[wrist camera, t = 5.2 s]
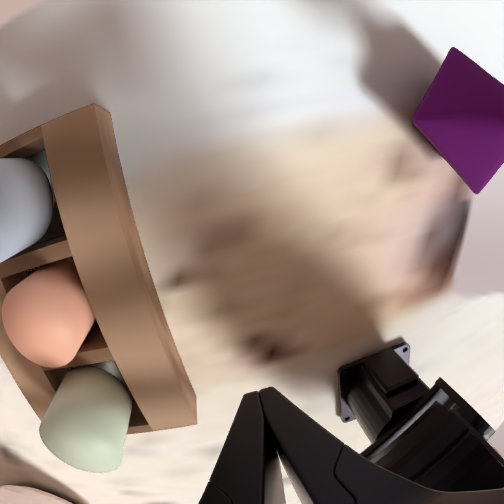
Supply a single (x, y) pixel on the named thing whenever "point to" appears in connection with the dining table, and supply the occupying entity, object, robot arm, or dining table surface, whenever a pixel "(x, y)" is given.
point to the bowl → (27, 496)
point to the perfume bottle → (465, 119)
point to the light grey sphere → (23, 205)
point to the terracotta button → (48, 314)
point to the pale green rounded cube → (88, 420)
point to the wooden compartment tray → (99, 275)
